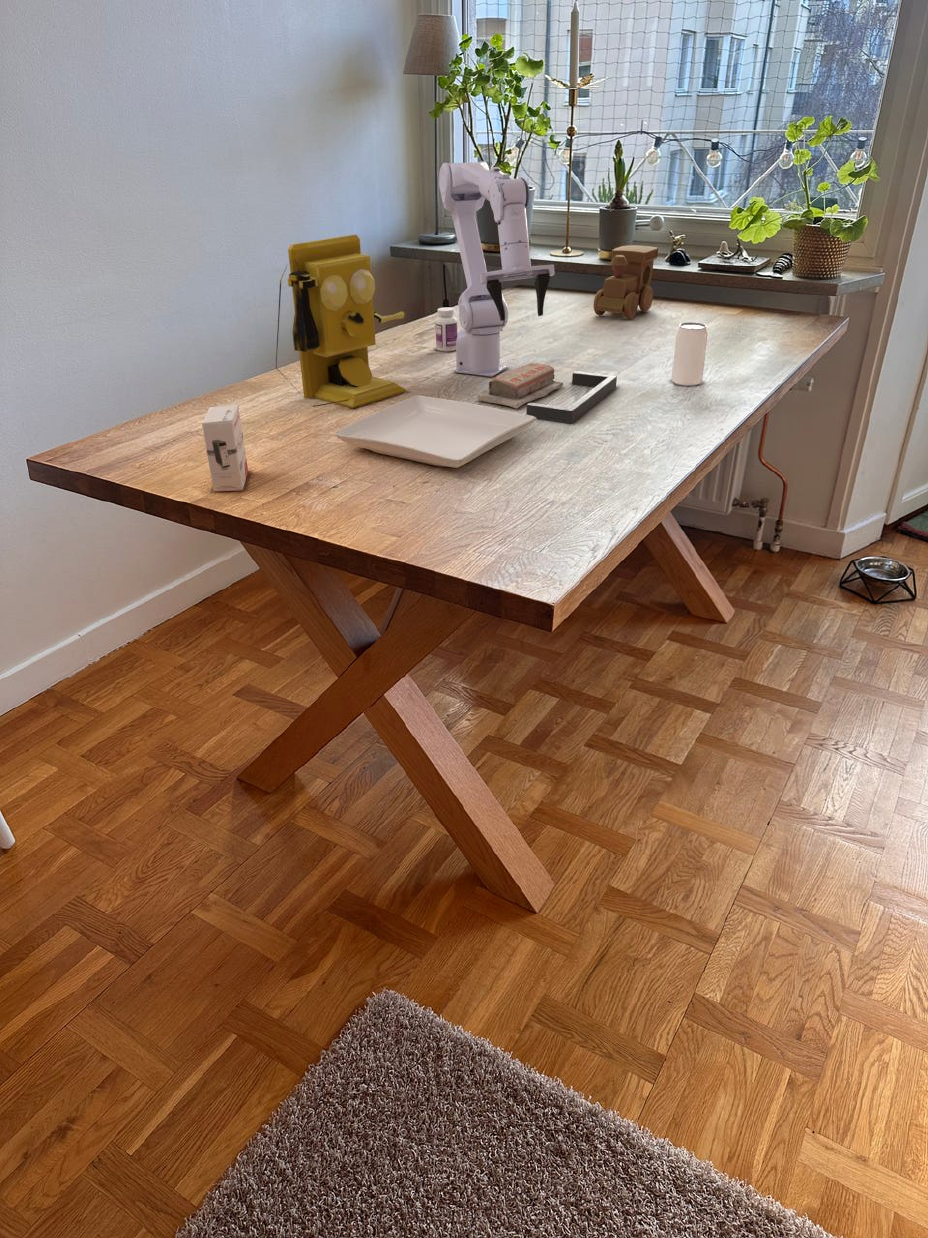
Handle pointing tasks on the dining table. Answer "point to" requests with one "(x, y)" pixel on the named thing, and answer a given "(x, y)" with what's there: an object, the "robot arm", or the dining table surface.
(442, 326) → the pill bottle
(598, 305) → the wooden toy train
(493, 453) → the dining table surface
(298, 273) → the vintage telephone
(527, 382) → the packaged product
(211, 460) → the ink box
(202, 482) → the dining table surface
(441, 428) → the square plate
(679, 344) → the can
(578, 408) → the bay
